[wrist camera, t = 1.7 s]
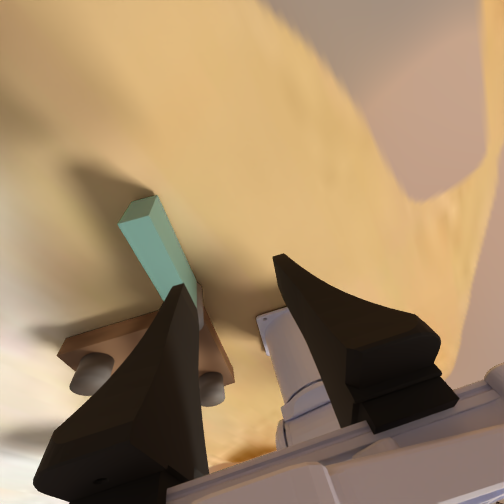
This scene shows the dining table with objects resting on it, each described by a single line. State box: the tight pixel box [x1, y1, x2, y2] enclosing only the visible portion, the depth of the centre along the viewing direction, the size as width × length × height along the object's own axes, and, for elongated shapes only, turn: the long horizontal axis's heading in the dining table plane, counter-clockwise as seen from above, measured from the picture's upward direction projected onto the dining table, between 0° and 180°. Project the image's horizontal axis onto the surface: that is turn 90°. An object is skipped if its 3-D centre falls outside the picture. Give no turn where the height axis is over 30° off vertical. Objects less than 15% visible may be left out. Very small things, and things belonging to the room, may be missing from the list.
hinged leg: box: [117, 195, 204, 331], centre depth 19 cm, size 11×2×4 cm, turn 11°
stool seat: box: [57, 306, 235, 407], centre depth 26 cm, size 14×14×4 cm
